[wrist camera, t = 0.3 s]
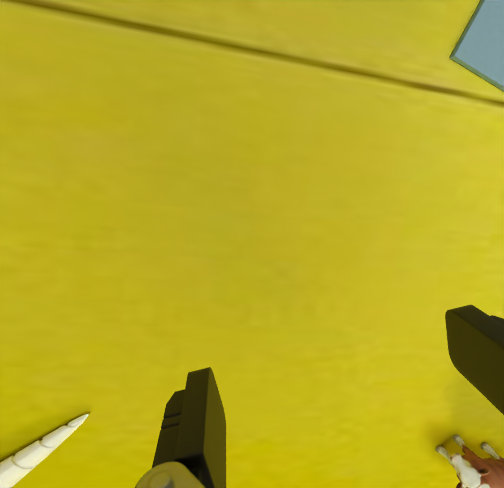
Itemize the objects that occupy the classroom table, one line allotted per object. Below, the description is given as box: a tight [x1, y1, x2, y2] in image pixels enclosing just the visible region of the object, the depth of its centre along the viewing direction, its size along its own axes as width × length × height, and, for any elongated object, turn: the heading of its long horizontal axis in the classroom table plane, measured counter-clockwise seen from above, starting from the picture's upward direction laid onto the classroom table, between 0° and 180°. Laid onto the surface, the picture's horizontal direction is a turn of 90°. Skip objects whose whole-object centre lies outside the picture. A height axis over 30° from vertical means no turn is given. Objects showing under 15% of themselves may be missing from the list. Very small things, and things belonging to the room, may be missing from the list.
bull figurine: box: [436, 435, 504, 488], centre depth 45 cm, size 4×13×8 cm, turn 63°
